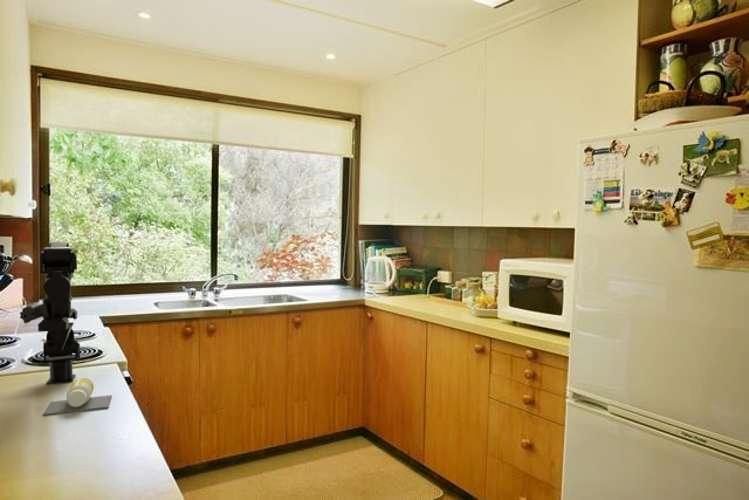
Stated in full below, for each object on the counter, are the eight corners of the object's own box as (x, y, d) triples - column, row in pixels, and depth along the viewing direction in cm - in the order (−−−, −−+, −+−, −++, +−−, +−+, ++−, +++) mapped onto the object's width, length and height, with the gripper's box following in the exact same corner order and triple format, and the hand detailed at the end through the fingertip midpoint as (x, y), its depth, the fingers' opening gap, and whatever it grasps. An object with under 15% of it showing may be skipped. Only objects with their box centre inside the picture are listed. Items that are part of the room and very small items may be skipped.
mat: (50, 403, 130) (50, 401, 130) (111, 397, 136) (111, 395, 136) (43, 415, 122) (43, 413, 122) (108, 408, 127) (108, 406, 127)
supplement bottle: (91, 374, 134) (87, 385, 126) (95, 393, 135) (91, 405, 126) (68, 380, 132) (62, 391, 124) (73, 399, 133) (67, 412, 124)
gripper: (31, 290, 141) (32, 345, 142) (13, 300, 124) (14, 362, 125) (77, 289, 146) (78, 342, 146) (65, 298, 128) (66, 358, 129)
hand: (59, 351), depth 136 cm, fingers closed
